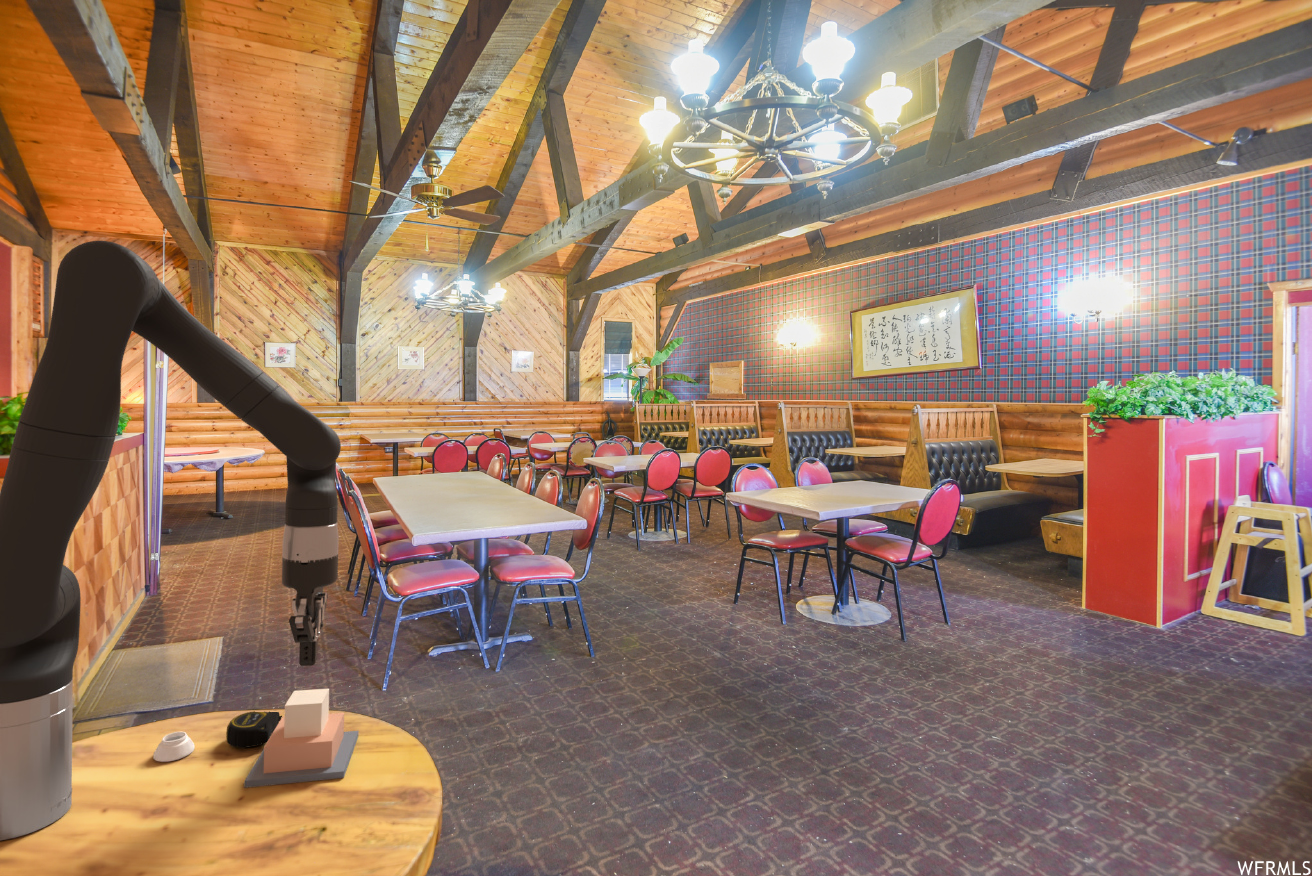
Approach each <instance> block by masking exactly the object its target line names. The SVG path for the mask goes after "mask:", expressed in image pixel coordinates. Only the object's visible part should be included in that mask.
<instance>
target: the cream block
mask: <svg viewBox="0 0 1312 876" xmlns="http://www.w3.org/2000/svg"><path fill="white" fill-rule="evenodd" d="M329 707H330V688H318V689H317V688H316V689H304V690H303V689H300V690H293V692H292V694H291V695H290V696H289V698H288V700H287V701H286V703H285V705H284V717H285V720H284V738H294V737H306V736H318V735H321V734H322V732H323V730H324V728H325V725H326V723H327V721H328V715H329V714H330V710H329Z"/></svg>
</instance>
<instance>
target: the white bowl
mask: <svg viewBox="0 0 1312 876" xmlns="http://www.w3.org/2000/svg"><path fill="white" fill-rule="evenodd" d="M193 751H195V743H194V742H193V740H192V739H191V737H190V736H188V734H187V732H185V731H175V732H171V733H167V734H166V735H164V736H163V737H162V739H161V741H160V742H159V743H158V745H157V747H156V749H155V751H154V752H153V760H155V761H156V762H161V763H166V762H172V761H173V762H174V761H177V760H181V759H183V758H185V757H187V756H189V755H190V754H192V753H193Z"/></svg>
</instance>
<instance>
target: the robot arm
mask: <svg viewBox="0 0 1312 876" xmlns="http://www.w3.org/2000/svg"><path fill="white" fill-rule="evenodd" d="M53 297H54V298H53V304H52V311H51V312H52V313H51V319H50V325H49V330H48V331H49V332H48V337H47V340H46V344H45V347H44V351H43V352H42V356H41V358H40V361H39V363H38V366H37V368H36V370H35V373H34V375H33V379H32V381H31V384H30V388H29V391H28V394H27V397H26V399H25V403H24V405H23V408H22V411H21V414H20V417H19V419H18V420H19V421H18V423H17V427H16V431H15V434H14V437H13V440H12V445H11V449H10V453H9V458H8V462H7V467H6V470H5V474H4V476H3V479H2V484H1V489H0V841H5V840H11V839H15V838H18V837H23V836H25V835H28V834H31V833H33V832H34V833H35V832H36V831H39V830H40V829H44V828H46V827H47V826H49V825H51V824H53V823H54V822H56V821H57V820H59V819H60V818H62V817H63V816H64V815H65V814H67V813H68V812H69V810H70V809H71V807H72V800H73V799H72V794H73V785H72V784H73V783H72V782H73V781H72V780H73V682H74V681H73V678H74V675H73V673H74V671H73V670H74V665H75V661H76V657H77V654H78V650H79V644H80V630H81V629H80V628H81V627H80V626H81V625H80V623H81V605H82V604H81V588H80V583H79V581H78V579H77V577H76V574H75V573H74V572H73V571H72V570H71V569H70V568H69V567H68V566H66V565H65V564H64V562H65V559H66V553H67V549H68V545H69V542H70V540H71V537H72V534H73V532H74V530H75V529H76V525H77V524H78V522H79V521H80V519H81V517H82V515H83V514H84V512H85V510H86V509H87V507H88V505H90V502H91V500H92V498H93V496H94V494H95V493H96V491H97V489H98V487H99V486H100V483H101V482H102V480H103V478H104V475H105V472H106V469H107V467H108V465H109V462H110V457H111V455H112V451H113V447H114V444H115V439H116V436H117V433H118V428H119V427H118V426H119V423H120V417H121V415H120V414H121V402H122V401H121V397H122V368H123V367H122V366H123V360H124V356H125V352H126V348H127V345H128V343H129V340H130V337H131V334H132V332H133V333H135V334H136V335H138V336H140V337H142V338H143V339H144V340H145V341H148V342H149V343H150V344H151V345H153V346H154V347H156V348H157V349H158V350H159V351H160V352H162V353H163V354H164V355H166V356H167V357H168V358H170V360H172V361H173V362H174V363H175V364H177V365H178V366H179V367H180V368H181V369H182V371H184V372H185V373H186V374H187V376H189V377H190V378H191V379H193V381H194V382H195V383H196V384H197V385H198V386H200V387H201V388H202V389H203V390H204V391H205V392H206V393H207V394H208V395H210V396H211V397H212V398H213V399H214V400H215V401H217V402H218V403H220V405H222V406H223V407H225V409H227V410H228V411H229V412H231V413H232V414H233V415H235V417H237V418H238V419H241V421H242V422H243V423H245V424H247V425H248V426H249V427H251V428H252V429H253V430H255V431H257V432H258V433H260V434H261V435H262V436H263V437H264V438H265V439H266V440H267V441H268V442H270V443H271V445H273V446H274V447H275V448H276V449H277V450H278V451H280V452H281V453H282V454H283V455H284V456H286V474H287V475H286V476H287V477H286V479H287V489H286V496H285V504H284V506H285V507H284V508H285V509H284V530H283V536H282V551H281V552H282V555H281V556H282V559H281V584H282V585H283V586H284V587H286V588H288V589H293V590H295V591H296V594H295V597H294V598H292V600H291V601H292V602H291V609H292V611H293V615H291V616H290V617H289V619H288V623H289V627H290V630H291V634H292V637H293V640H294V643H296V644H297V643H299V655H298V656H299V661H298V663H299V666H300V667H308V666H309V667H310V666H314V665H315V664H316V662H317V661H318V659H319V658H318V657H319V656H318V654H319V652H318V650H319V638H320V636H321V630H323V628H324V620H325V615H326V614H325V613H326V607H327V601H328V598H329V595H328V592H324V587H327V586H331V585H333V584H334V583H336V582H337V580H338V579H339V578H338V576H339V543H340V542H339V541H340V540H339V539H340V536H339V530H338V529H339V528H338V527H339V526H338V511H339V510H338V507H339V502H338V492H337V488H336V472H337V471H336V465H337V459H338V458H339V455H340V453H341V451H342V450H341V448H342V447H341V446H342V444H341V440H340V437H339V435H338V434H337V432H336V431H335V430H334V429H332V427H330V426H329V425H328V424H327V423H325V422H324V421H322V420H321V419H320V418H319V417H317V416H316V415H315V414H313V413H312V412H310V410H308V409H306V408H305V407H304V406H303V405H302V404H300V403H299V402H297V401H296V400H295V399H294V398H293V397H292V396H291V394H289V393H288V391H286V390H285V388H283V387H282V386H281V385H279V383H278V382H277V381H275V380H274V379H273V378H272V377H271V376H270V375H268V374H267V373H266V372H264V370H262V369H261V368H260V367H258V366H257V365H256V364H255V363H254V362H252V361H251V360H250V359H248V358H247V357H246V356H245V355H243V354H242V353H240V352H239V351H238V350H236V349H235V348H234V347H232V345H230V344H229V343H227V342H225V340H223V339H222V338H221V337H219V336H218V335H216V334H215V333H214V332H213V331H211V330H210V329H209V328H208V327H206V326H205V325H204V324H203V323H201V322H200V321H199V320H198V319H197V318H196V317H195V316H193V314H192V313H190V311H188V309H186V307H184V305H182V304H181V302H179V300H178V298H176V296H175V295H174V294H173V293H172V292H171V291H170V290H169V289H168V288H167V287H166V285H165V284H163V282H162V281H161V280H160V279H159V277H158V276H157V273H156V272H155V270H154V269H153V268H152V267H151V265H150V264H148V262H147V261H145V260H144V258H143V257H141V256H140V255H139V254H137V253H136V252H134V251H133V250H131V249H129V248H127V247H126V246H124V245H122V244H120V243H116V242H113V241H107V240H91V241H87V242H83V243H81V244H78V245H75V247H73V248H71V249H70V250H69V251H68V252H67V253H65V254H64V256H63V258H62V260H61V261H60V263H59V265H58V268H57V274H56V280H55V289H54V296H53Z"/></svg>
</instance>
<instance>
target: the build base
mask: <svg viewBox="0 0 1312 876" xmlns="http://www.w3.org/2000/svg"><path fill="white" fill-rule="evenodd" d="M284 720H285V716H282V717H281V720H280V721H279V723H278V725H277V727H276V728H275V730H274V731H273V733H272V734H271V736H270V738H269V740H268V741H267V743H265V744H264V746H263V750H262V752H261V753H260V754H259V756H258V758H257V760H256V761H255V763H254V764H253V766H252V768H251V770H250V771H249V773H248V775H247V776H246V777H245V779H244V782H243V784H244V785H243V787H244V788H256V787H265V786H275V785H284V784H285V785H286V784H294V783H295V784H297V783H305V782H306V783H307V782H315V781H325V780H335V779H344V778H345V775H346V773H347V769H348V767H349V764H350V761H351V759H352V756H353V754H354V753H353V752H354V750H355V747H356V744H357V742H358V738H359V730H350V731H345V712H334V713H333V712H332V713H330V712H329V715H328V721H327V723H326V725H325V728H324V730H323V732H322V734H321V735H318V736H306V737H294V738H284Z"/></svg>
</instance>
